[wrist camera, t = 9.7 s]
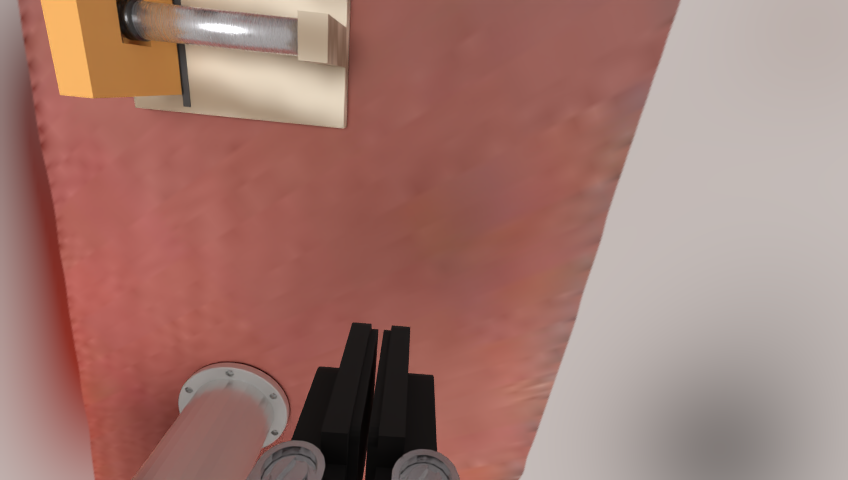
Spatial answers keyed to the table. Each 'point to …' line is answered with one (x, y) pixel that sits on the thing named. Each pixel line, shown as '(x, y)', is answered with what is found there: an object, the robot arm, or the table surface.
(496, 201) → the table surface
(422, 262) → the table surface
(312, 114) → the pipe stand
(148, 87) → the collar
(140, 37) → the pipe
